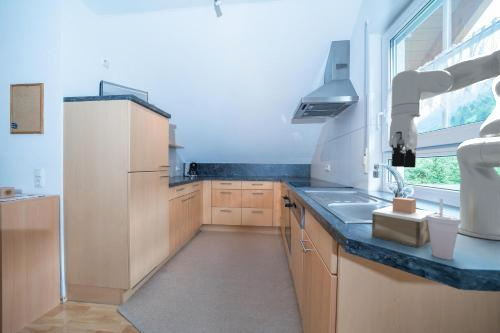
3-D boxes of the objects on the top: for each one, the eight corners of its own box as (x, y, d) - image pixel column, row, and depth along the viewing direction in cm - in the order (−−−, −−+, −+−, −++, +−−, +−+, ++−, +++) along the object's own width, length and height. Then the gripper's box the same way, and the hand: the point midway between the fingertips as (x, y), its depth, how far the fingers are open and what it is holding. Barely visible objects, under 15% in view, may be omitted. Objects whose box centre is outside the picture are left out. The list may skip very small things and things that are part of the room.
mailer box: (391, 227, 77) (392, 208, 77) (435, 236, 67) (435, 214, 67) (372, 236, 67) (372, 213, 67) (419, 248, 57) (419, 222, 57)
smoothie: (445, 251, 55) (446, 197, 55) (468, 262, 49) (469, 201, 49) (419, 250, 56) (419, 196, 56) (438, 261, 49) (439, 200, 49)
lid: (391, 208, 77) (391, 194, 77) (436, 214, 67) (436, 199, 67) (371, 213, 67) (371, 198, 67) (420, 222, 57) (420, 204, 57)
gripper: (401, 118, 75) (400, 167, 75) (380, 109, 65) (379, 166, 65) (428, 115, 69) (426, 167, 69) (410, 104, 59) (408, 166, 59)
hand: (403, 167), depth 67 cm, fingers open, 9 cm apart
